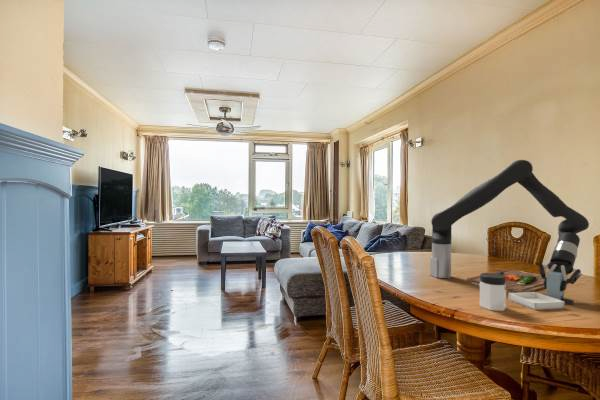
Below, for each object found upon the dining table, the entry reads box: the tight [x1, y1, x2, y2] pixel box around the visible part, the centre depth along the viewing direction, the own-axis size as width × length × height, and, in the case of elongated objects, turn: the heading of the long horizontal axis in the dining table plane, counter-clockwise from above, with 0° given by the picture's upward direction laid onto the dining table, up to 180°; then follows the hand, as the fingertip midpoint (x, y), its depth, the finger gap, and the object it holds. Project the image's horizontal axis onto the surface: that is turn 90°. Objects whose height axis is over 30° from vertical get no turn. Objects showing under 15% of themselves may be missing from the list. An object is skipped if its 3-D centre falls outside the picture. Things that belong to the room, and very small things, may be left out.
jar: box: [479, 272, 507, 312], centre depth 120 cm, size 9×8×12 cm
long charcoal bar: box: [539, 292, 575, 305], centre depth 127 cm, size 11×2×2 cm, turn 35°
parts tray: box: [507, 291, 566, 311], centre depth 124 cm, size 12×12×2 cm
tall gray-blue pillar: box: [546, 271, 565, 300], centre depth 127 cm, size 4×5×11 cm
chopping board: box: [466, 269, 546, 293], centre depth 157 cm, size 45×27×3 cm, turn 120°
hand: (553, 288), depth 126 cm, fingers closed on tall gray-blue pillar, 4 cm apart
